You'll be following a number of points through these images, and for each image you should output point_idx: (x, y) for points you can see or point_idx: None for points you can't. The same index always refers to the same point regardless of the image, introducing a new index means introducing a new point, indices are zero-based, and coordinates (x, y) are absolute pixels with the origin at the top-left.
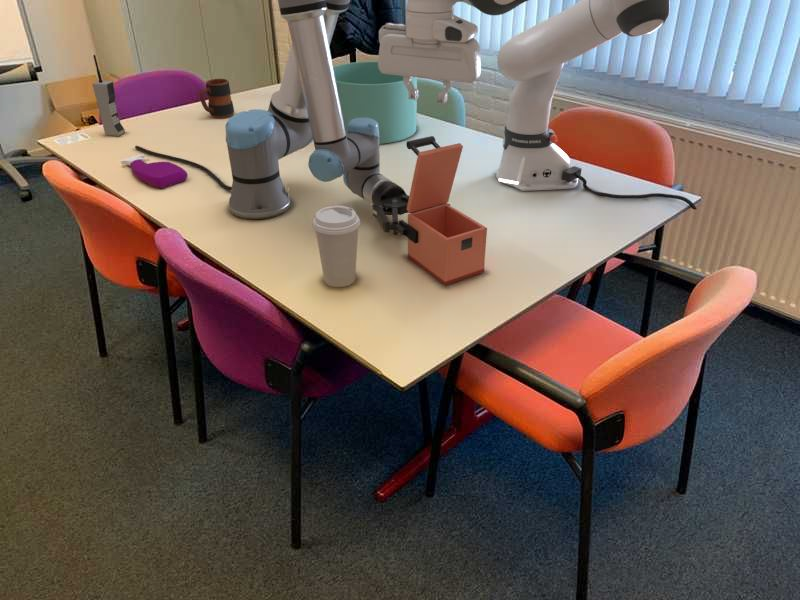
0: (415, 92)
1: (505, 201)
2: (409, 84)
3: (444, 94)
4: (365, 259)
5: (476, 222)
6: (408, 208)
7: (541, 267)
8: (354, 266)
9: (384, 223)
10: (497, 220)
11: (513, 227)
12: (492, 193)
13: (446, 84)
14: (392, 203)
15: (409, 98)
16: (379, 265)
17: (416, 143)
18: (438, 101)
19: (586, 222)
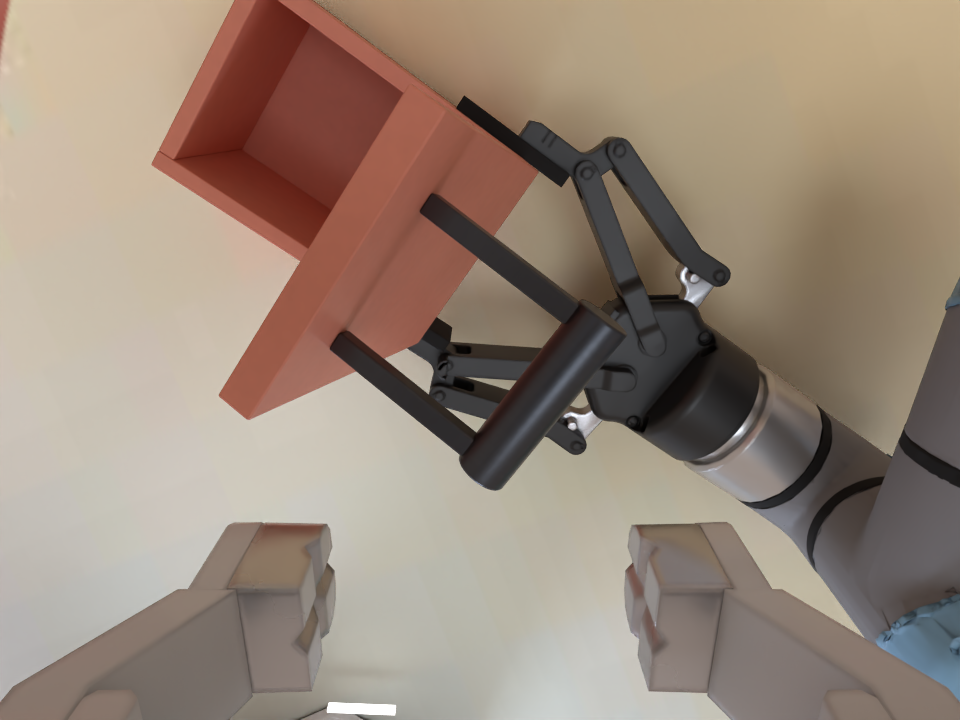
0: (654, 582)
1: (357, 630)
2: (803, 682)
3: (183, 589)
4: (654, 70)
5: (215, 199)
6: (525, 161)
7: (80, 265)
8: None
9: (625, 139)
10: (332, 507)
11: (268, 482)
12: (415, 664)
13: (59, 713)
14: (650, 308)
15: (716, 523)
16: (589, 48)
17: (553, 346)
18: (308, 525)
19: (83, 588)
